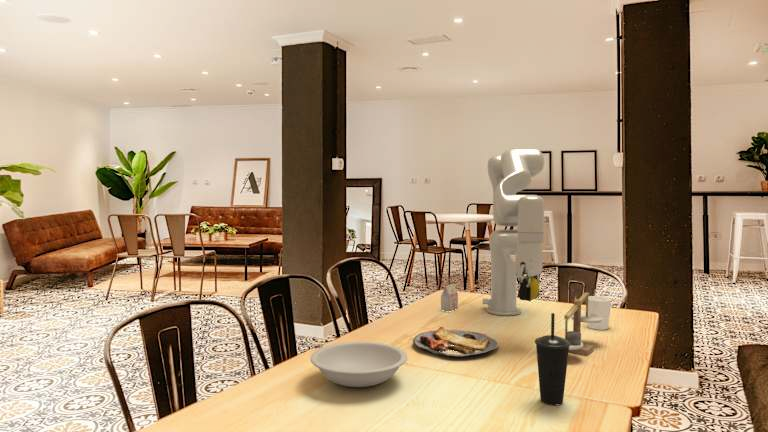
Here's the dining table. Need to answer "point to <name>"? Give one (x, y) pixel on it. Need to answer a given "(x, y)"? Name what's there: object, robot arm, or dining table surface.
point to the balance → (579, 326)
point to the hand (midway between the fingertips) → (529, 297)
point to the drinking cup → (552, 366)
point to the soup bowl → (358, 362)
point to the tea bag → (449, 298)
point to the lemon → (534, 287)
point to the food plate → (455, 342)
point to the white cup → (599, 311)
